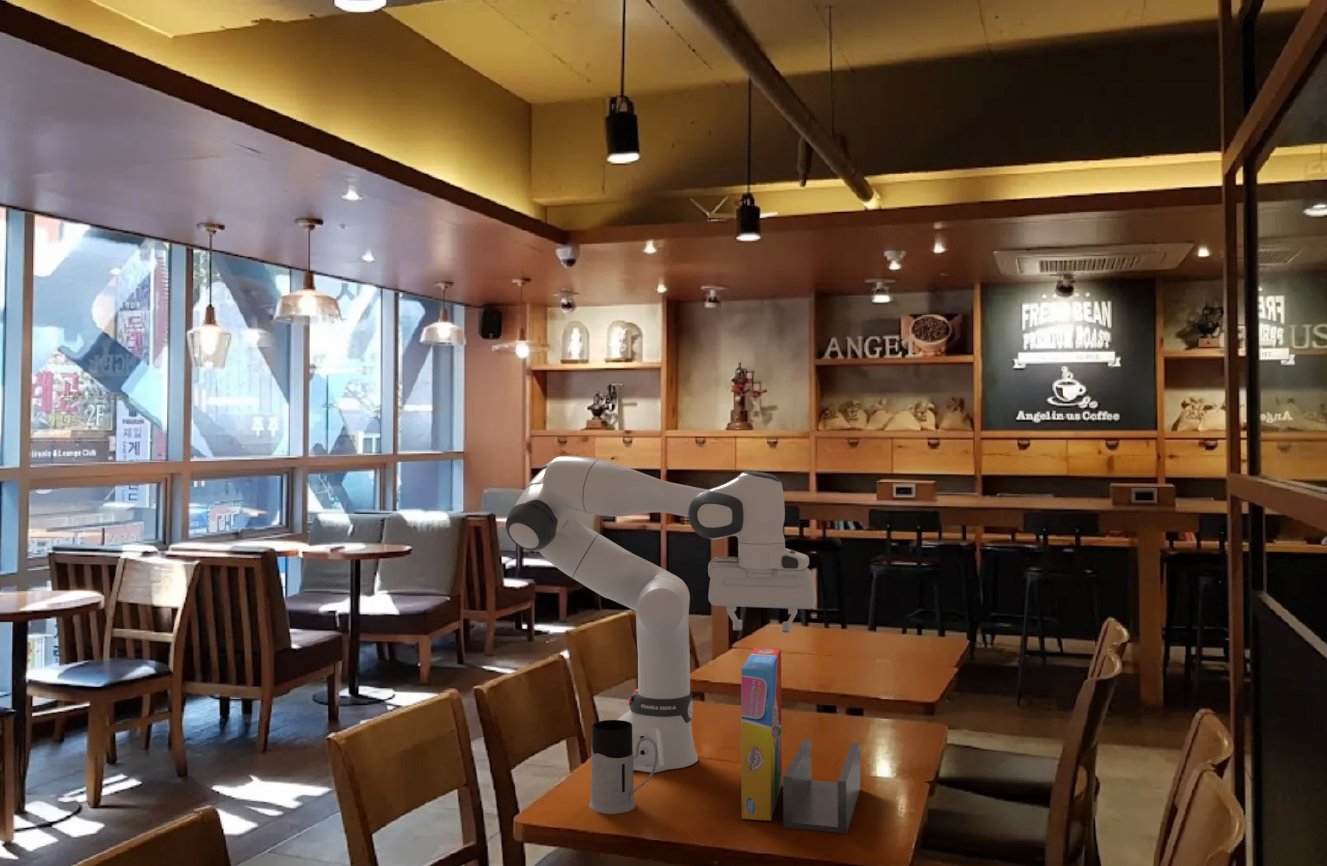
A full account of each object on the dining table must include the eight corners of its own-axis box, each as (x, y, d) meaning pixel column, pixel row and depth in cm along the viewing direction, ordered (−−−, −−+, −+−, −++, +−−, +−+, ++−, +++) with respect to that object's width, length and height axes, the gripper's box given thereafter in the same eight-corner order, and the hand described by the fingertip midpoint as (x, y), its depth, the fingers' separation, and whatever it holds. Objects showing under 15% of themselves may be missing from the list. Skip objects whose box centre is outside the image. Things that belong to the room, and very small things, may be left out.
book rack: (783, 827, 185) (783, 776, 185) (803, 784, 208) (803, 738, 208) (846, 833, 182) (846, 781, 182) (860, 789, 205) (859, 742, 205)
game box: (771, 822, 188) (770, 669, 188) (741, 820, 189) (740, 668, 189) (782, 784, 208) (781, 647, 208) (754, 783, 209) (753, 646, 209)
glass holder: (606, 794, 203) (605, 716, 203) (669, 807, 195) (669, 726, 196) (579, 808, 195) (579, 727, 195) (644, 822, 188) (644, 738, 188)
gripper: (704, 557, 199) (704, 631, 198) (812, 560, 193) (813, 636, 193) (711, 554, 205) (712, 625, 204) (817, 556, 199) (817, 630, 199)
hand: (762, 630), depth 199 cm, fingers open, 8 cm apart
